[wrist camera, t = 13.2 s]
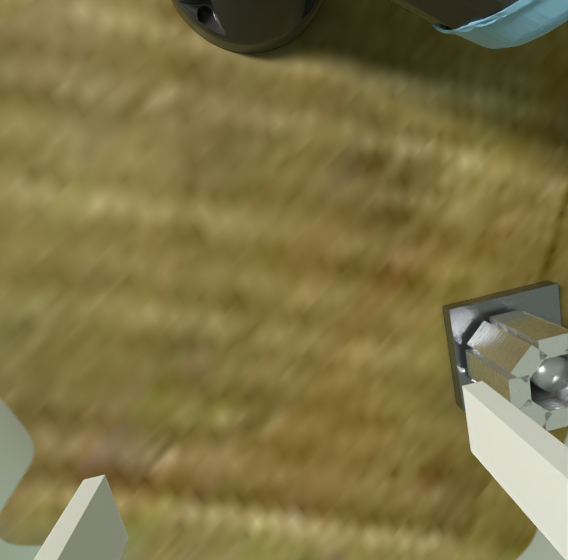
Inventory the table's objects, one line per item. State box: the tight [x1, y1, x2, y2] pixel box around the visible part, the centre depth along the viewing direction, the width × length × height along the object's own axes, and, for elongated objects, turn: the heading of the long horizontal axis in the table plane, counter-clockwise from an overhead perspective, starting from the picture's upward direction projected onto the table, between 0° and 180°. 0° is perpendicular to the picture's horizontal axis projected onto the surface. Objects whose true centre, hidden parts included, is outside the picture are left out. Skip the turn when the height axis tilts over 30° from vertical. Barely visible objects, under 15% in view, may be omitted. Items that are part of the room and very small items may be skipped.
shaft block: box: [442, 281, 568, 411], centre depth 39 cm, size 12×12×8 cm
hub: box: [465, 310, 568, 431], centre depth 37 cm, size 9×9×7 cm
